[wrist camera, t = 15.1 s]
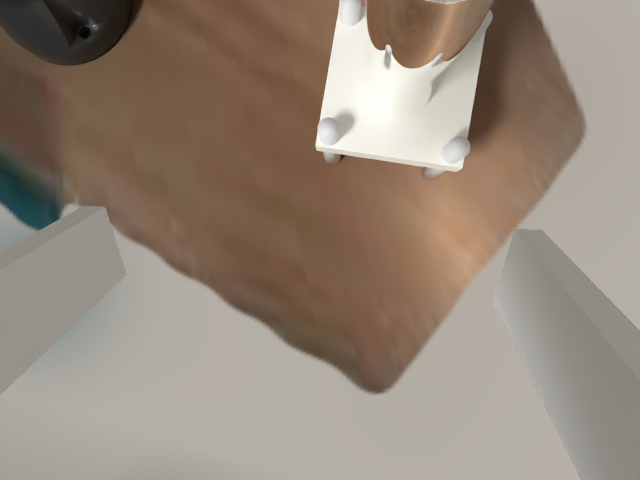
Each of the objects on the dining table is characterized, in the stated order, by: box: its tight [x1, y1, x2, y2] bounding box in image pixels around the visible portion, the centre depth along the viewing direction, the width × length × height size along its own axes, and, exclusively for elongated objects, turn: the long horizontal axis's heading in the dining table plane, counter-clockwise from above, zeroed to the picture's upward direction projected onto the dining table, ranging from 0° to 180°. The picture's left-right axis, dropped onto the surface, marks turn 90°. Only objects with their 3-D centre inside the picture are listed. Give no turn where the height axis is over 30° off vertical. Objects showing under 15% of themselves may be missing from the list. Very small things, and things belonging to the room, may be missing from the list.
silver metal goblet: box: [364, 0, 494, 118], centre depth 23 cm, size 7×7×15 cm
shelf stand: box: [315, 0, 493, 180], centre depth 33 cm, size 13×13×10 cm
